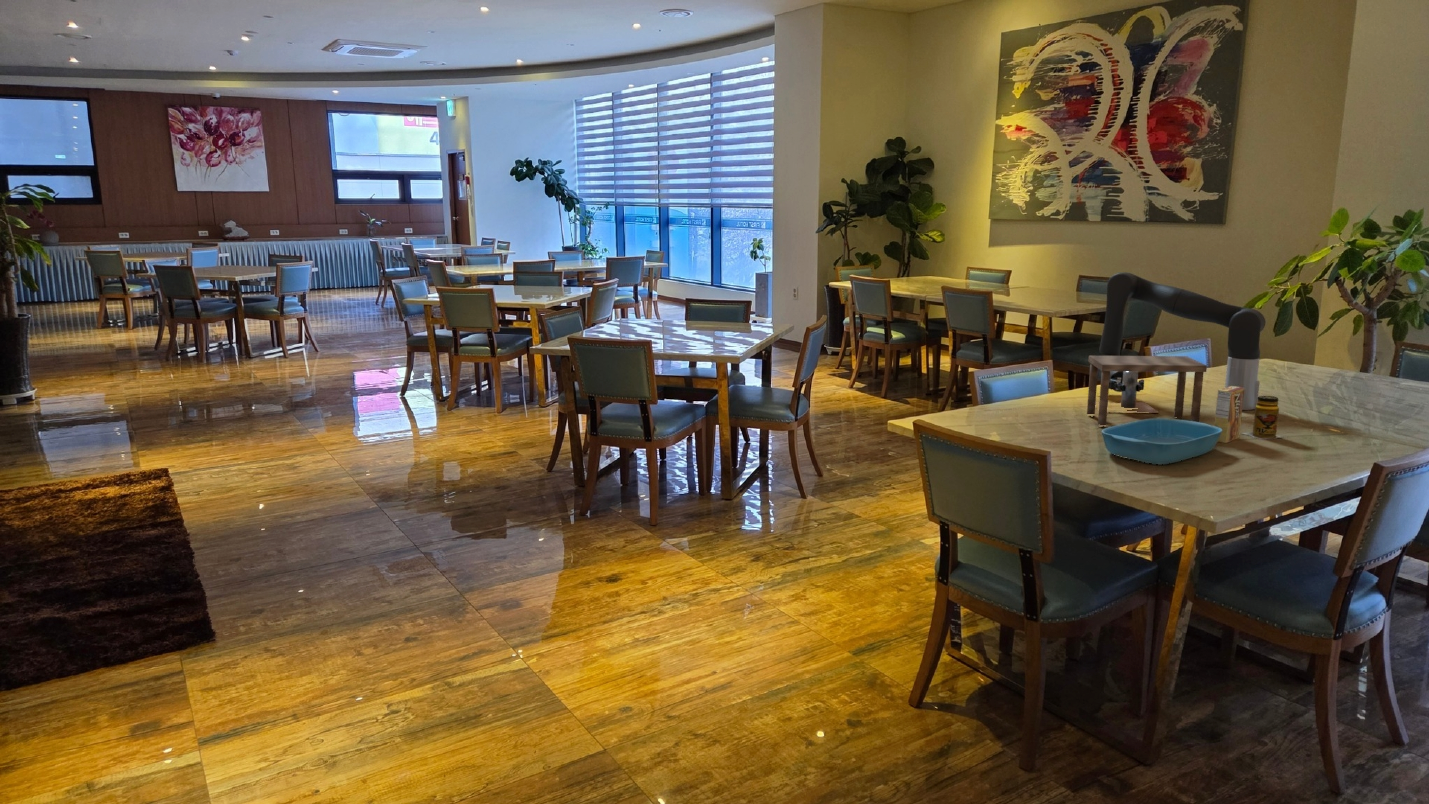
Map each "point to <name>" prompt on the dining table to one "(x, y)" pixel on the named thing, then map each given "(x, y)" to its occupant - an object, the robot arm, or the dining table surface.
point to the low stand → (1145, 365)
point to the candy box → (1229, 412)
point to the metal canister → (1129, 389)
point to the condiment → (1265, 418)
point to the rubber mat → (1143, 408)
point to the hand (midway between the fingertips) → (1131, 388)
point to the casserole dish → (1161, 440)
